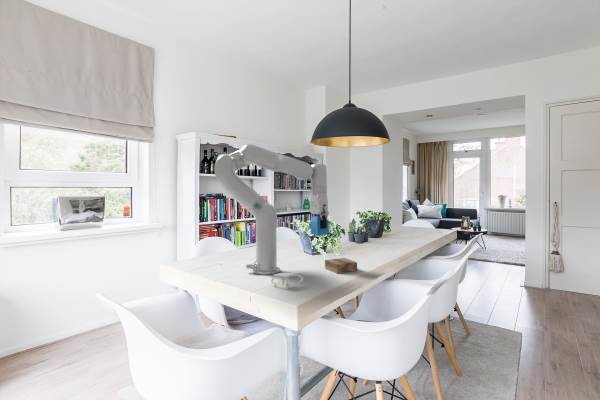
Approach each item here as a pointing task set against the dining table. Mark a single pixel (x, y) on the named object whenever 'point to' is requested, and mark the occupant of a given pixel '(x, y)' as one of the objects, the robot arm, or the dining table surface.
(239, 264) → the dining table surface
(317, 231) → the perfume bottle
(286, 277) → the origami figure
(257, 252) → the robot arm
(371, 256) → the dining table surface
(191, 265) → the dining table surface
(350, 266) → the walnut block
